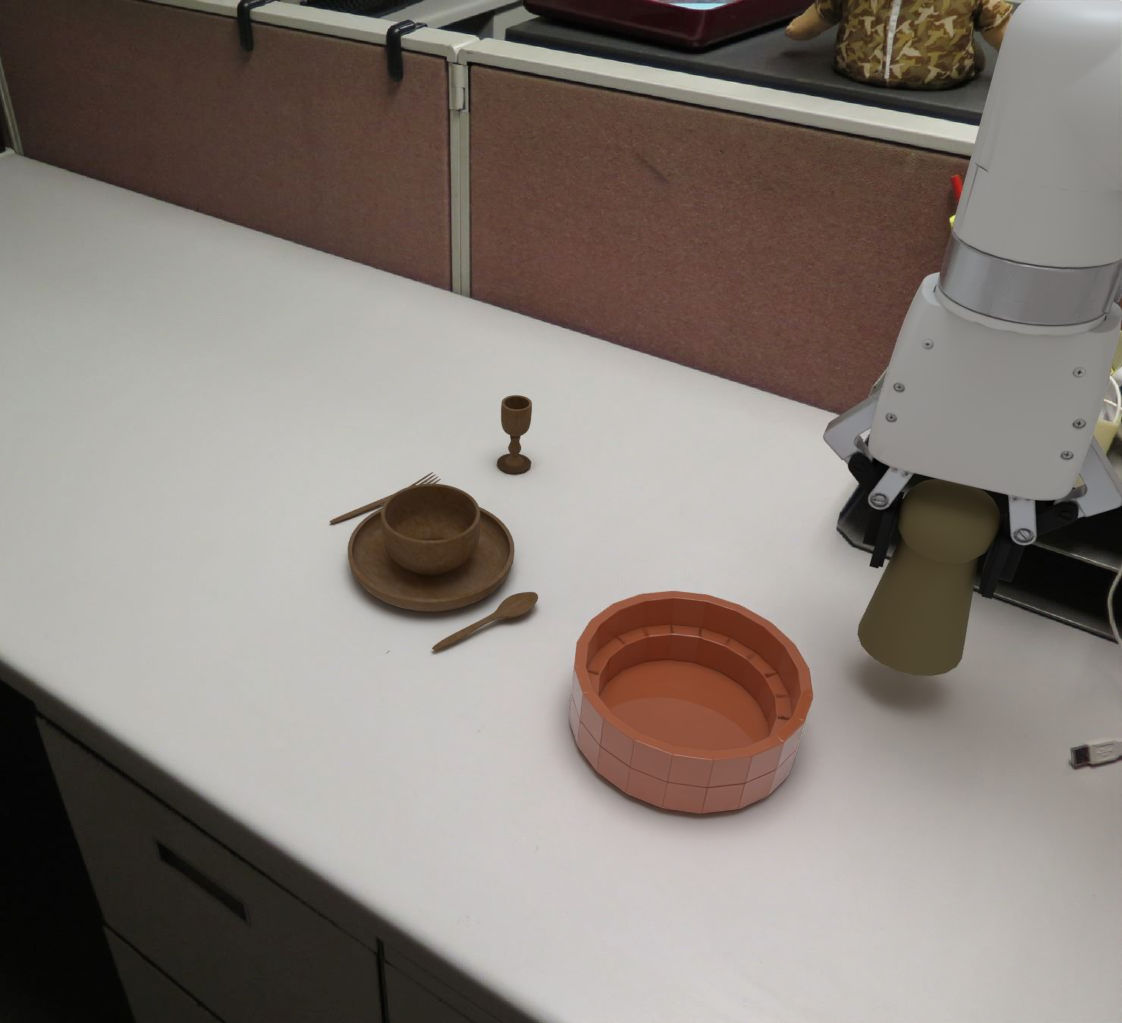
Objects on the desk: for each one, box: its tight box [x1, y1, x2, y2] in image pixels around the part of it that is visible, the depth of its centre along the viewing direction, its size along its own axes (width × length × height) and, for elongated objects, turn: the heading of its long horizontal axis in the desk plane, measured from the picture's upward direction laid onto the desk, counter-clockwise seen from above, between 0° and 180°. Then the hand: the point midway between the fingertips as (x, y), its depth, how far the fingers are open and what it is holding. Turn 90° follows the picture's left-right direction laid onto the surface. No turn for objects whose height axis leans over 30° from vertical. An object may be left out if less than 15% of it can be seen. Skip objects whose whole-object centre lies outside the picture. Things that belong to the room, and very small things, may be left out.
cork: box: [856, 478, 1001, 677], centre depth 61 cm, size 6×6×11 cm
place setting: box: [329, 394, 539, 651], centre depth 76 cm, size 18×20×6 cm
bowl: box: [568, 590, 814, 814], centre depth 62 cm, size 13×13×5 cm
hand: (933, 566), depth 61 cm, fingers closed on cork, 5 cm apart
